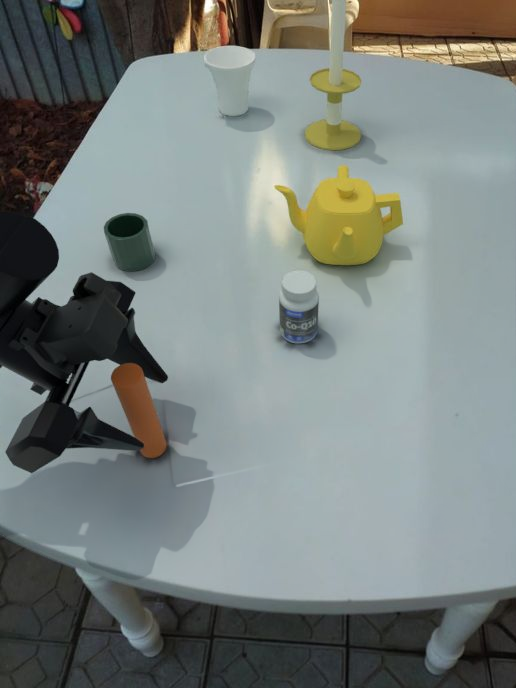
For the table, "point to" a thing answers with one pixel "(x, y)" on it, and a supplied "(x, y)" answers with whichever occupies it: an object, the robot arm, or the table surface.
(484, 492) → the table surface
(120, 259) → the green cylindrical container
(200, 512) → the table surface
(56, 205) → the table surface
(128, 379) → the orange cylindrical rod
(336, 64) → the candle
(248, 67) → the cup
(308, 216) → the teapot
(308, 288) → the pill bottle
